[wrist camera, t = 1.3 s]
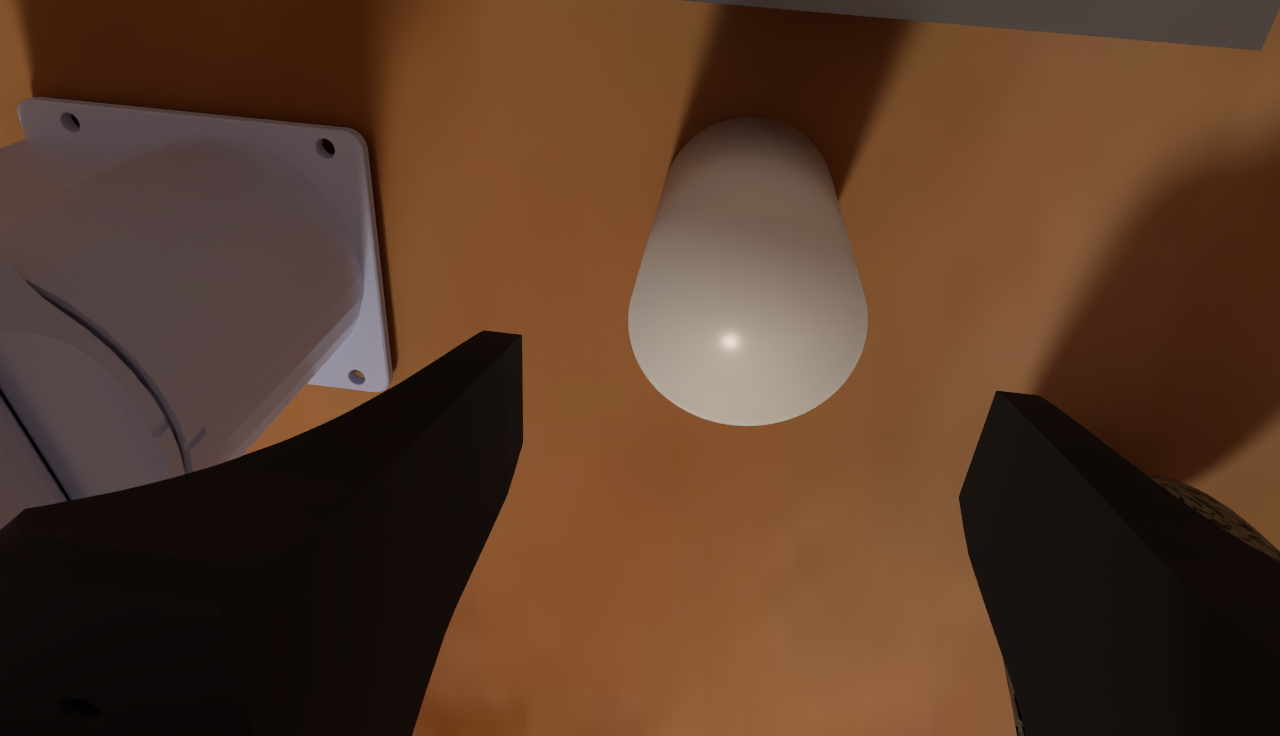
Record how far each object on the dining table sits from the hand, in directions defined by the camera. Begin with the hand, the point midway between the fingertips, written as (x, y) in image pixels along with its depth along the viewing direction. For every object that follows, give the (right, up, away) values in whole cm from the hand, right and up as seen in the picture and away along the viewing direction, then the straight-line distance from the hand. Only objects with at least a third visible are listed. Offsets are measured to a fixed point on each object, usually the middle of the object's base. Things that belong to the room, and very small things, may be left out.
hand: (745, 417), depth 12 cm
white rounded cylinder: (+1, +5, +9) cm, 10 cm away
